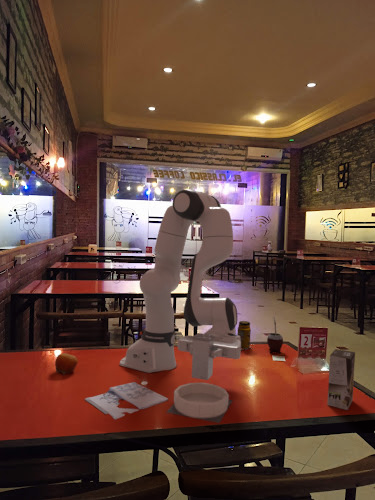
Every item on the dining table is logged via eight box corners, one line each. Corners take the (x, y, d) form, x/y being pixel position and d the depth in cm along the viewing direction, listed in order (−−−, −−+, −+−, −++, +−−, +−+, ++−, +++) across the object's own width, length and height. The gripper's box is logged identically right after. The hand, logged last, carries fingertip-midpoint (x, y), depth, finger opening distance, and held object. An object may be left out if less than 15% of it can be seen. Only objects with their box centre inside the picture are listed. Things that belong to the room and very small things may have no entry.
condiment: (253, 348, 183) (254, 322, 182) (240, 350, 178) (241, 324, 177) (243, 344, 189) (244, 319, 188) (229, 346, 184) (230, 321, 184)
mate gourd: (275, 355, 173) (277, 321, 172) (262, 350, 179) (263, 318, 178) (286, 352, 178) (287, 319, 177) (272, 348, 184) (273, 316, 183)
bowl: (166, 412, 113) (166, 398, 113) (185, 391, 128) (185, 379, 128) (219, 423, 108) (219, 408, 107) (232, 400, 123) (233, 387, 122)
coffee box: (348, 410, 119) (351, 358, 119) (326, 405, 123) (329, 354, 122) (353, 400, 127) (356, 351, 126) (332, 395, 131) (335, 348, 130)
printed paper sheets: (169, 405, 121) (170, 398, 120) (112, 424, 107) (113, 416, 107) (135, 385, 135) (135, 379, 135) (81, 400, 121) (81, 394, 121)
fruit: (46, 371, 140) (54, 349, 144) (58, 376, 146) (66, 355, 150) (64, 374, 137) (72, 352, 141) (76, 379, 143) (83, 358, 147)
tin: (191, 377, 116) (192, 337, 115) (196, 371, 121) (198, 333, 120) (207, 380, 114) (209, 339, 114) (212, 374, 119) (214, 335, 119)
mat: (166, 414, 113) (166, 412, 113) (185, 393, 128) (185, 391, 128) (219, 425, 108) (219, 423, 108) (232, 402, 123) (232, 400, 123)
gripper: (185, 328, 133) (170, 338, 120) (245, 336, 126) (235, 347, 113) (185, 347, 133) (169, 359, 120) (244, 355, 126) (234, 369, 113)
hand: (202, 353), depth 116 cm, fingers closed on tin, 5 cm apart
